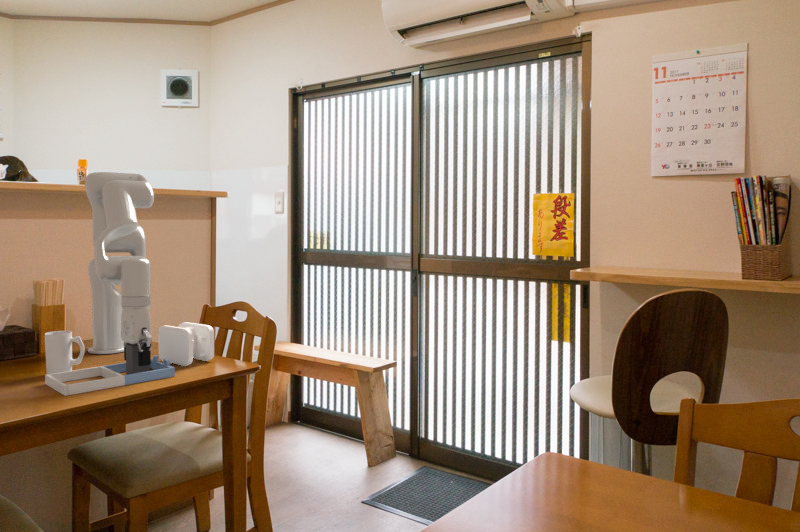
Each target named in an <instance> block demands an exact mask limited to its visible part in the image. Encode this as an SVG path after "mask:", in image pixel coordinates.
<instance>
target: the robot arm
mask: <svg viewBox="0 0 800 532" xmlns="http://www.w3.org/2000/svg"><path fill="white" fill-rule="evenodd" d="M85 176H86V177H85V180H84V188H85V189H84V190H85V193H86V197H87V199H88V201H89V204H90V206H91V210H92V242H93V248H94V249H93V257H94V258H92V259H91V260H90V261H89V262H88V265H87V272H88V276H89V277H88V278H89V283H90V290H91V306H92V308H91V310H92V344H93V345H92V346H90V347H88V348H87V352H88V353H89V354H93V355H94V354H95V355H110V354H118V353H123V354H124V356H123V357H124V359H123V360H124V361H126V344H136V343H137V344H138V347H139V351H140V352H138V365H139V366H146V365H150V364H151V359H152V358H151V353H152V352H151V350H152V340H153V336H152V327H151V314H150V308H151V306H152V304H151V301H152V299H151V262H150V260H149V259H148V258H146V256H147V254H146V249H147V248H146V242H147V241H146V233H145V230H144V228H143V227H142V226H141V225H139V223H138V217H137V211H136V209H151V207H152V206H153V204H154V202H155V193H154V190H153V187H152V185H151V183H150V181H149V180H148V179H147V178H146V177H145V176H144V175H142V174H138V173H129V172H127V173H126V172H113V171H112V172H111V171H95V172H91V173H89V174H87V175H85ZM106 253H107V254H108V253H110V254H111V253H113V254H115V253H118V254H119V253H129V255H110V256H107V254H106ZM116 286H120V291H119V290H118V289H117V288H116ZM142 344H143V346H142Z"/></svg>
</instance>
